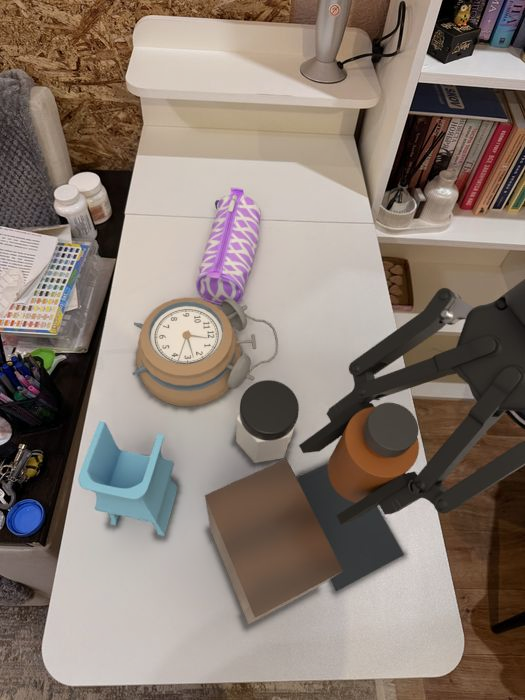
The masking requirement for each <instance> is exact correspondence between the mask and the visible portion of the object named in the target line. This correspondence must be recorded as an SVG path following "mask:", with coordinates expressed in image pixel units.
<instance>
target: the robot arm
mask: <svg viewBox="0 0 525 700" xmlns="http://www.w3.org/2000/svg"><path fill="white" fill-rule="evenodd" d="M461 320H464V323H463V326H462V329H461V332H460V335H459V338H458V340H457V343H456V346H455V347H453V348H450V349H448V350H445V351H442V352H440V353H437V354H435V355H433V356H432V357H430V358H427V359H425V360H422V361H418V362H416V363H413V364H411V365H408V366H405V367H403V368H400V369H397V370H395V371H391V372H389V373H386V374H384V375H380V376H378V377H375V375H377V374H378V373H380V372H381V371H383V370H384V369H386V368H387V367H388V366H389V365H391V364H392V363H394V362H396V361H397V360H399V359H400V358H402V356H405V355H406V354H407V353H410V351H411V350H413V349H414V348H416V347H418V345H419V346H420V344H422V343H424V342H425V341H426V340H427V339H429V338H431V337H432V336H433V335H435V334H436V333H438V332H439V331H441V330H442V329H443V328H444V327H445V326H446V325H449V326H453V325H455V324H457V323H458V322H459V321H461ZM348 373H350V375H352V377H353V382H354V386H353V389H352V391H350V392H349V393H348V394H346V395H345V396H344V397H342V398H341V399H340V400H338V401H337V402H336V403H335V404H333V405H332V406H331V407H330V408H328V410H327V412H326V416H327V417H328V419H329V421H330V422H328V423H327V424H325V425H324V426H323V427H322V428H320V429H319V430H317V431H316V432H314V433H313V434H312V435H311V436H309V437H308V438H306V440H303V442H302V443H300V444H299V445H298V447H299V448H300V450H301V452H302V454H309V453H310V454H311V453H317V452H318V453H319V452H320V451H322V450H324V449H325V448H327V447H329V445H331V444H332V443H334V442H335V441H336V440H338V439H340V438H341V436H342V434H343V432H344V430H345V429H346V427H347V425H348V423H349V421H350V420H351V418H352V417H353V416H354V415H355V414H356V413H358V412H359V411H361V410H363V409H366V408H369V407H375V405H374V404H373V402H372V401H380V400H381V399H382V398H385V397H388V396H391V395H394V394H397V393H400V392H402V391H406V390H409V389H412V388H415V387H419V386H420V385H423V384H427V383H430V382H432V381H436V380H439V379H442V378H444V377H447V376H451V375H455V374H457V376H458V377H459V378H460V379H462V380H463V381H464V382H465V383H467V385H468V387H469V390H470V392H471V394H472V396H473V398H474V399H475V401H476V402H475V403H474V405H473V406H472V408H471V409H470V410H469V412H468V414H467V416H466V417H465V418H464V419H463V421H461V423H460V424H459V425H457V427H456V428H455V430H454V431H453V432H452V434H451V435H450V436H449V437H448V438H447V440H446V441H445V442H444V443H443V444H442V445H441V446H440V448H439V449H438V450H437V451H436V453H435V454H434V455H433V456H432V457H431V459H430V460H429V461H428V462H427V463H426V464H425V465H424V467H423V468H422V469H421V470H420V472H419V473H418V474H417V472H416V471H415V470H414V471H410V472H406V473H405V474H402V475H400V476H398V477H397V478H395V479H394V480H392V481H390V482H389V483H387V484H386V485H384V486H382V487H381V488H379V489H378V490H376V491H375V492H373V493H371V494H370V495H368V496H367V497H365V498H363V499H362V500H360V501H359V502H357V503H355V504H354V505H352V506H351V507H349V508H347V509H346V510H344V511H343V512H341V513H339V514H338V515H336V516H337V518H338V520H339V522H340V523H341V524H344V523H347V522H349V521H352V520H355V519H357V518H359V517H361V516H362V515H364V514H366V513H367V512H369V511H370V510H372V509H374V508H375V507H380V509H381V511H382V512H383V514H384V515H392V514H395V513H398V512H400V511H402V510H403V509H404V508H407V507H408V506H410V505H412V504H413V503H415V502H417V501H418V500H419V499H425V500H426V501H428V502H429V503H431V504H432V505H433V508H434V509H435V511H437V512H438V513H439V514H448V513H450V512H451V511H454V510H455V509H457V508H459V507H461V506H462V505H464V504H466V503H467V502H469V501H470V500H473V499H474V498H475V497H477V496H478V495H480V494H482V493H483V492H485V491H486V490H488V489H489V488H491V487H493V486H494V485H496V484H497V483H499V482H501V481H502V480H504V479H506V478H507V477H509V476H510V475H512V474H514V473H515V472H516V471H518V470H519V469H521V468H523V467H524V466H525V440H523V441H521V442H519V443H518V444H516V445H514V446H512V447H511V448H509V449H508V450H506V451H505V452H503V453H502V454H500V455H498V456H497V457H495V458H494V459H492V460H491V461H489V462H488V463H486V464H484V465H483V466H481V467H480V468H479V469H477V470H476V471H474V472H473V473H471V474H469V475H468V476H467V477H465V478H464V479H462V480H460V481H459V482H457V483H455V484H454V485H453V486H451V487H449V488H448V487H447V486H446V485H444V484H443V483H444V481H445V480H446V479H447V478H448V477H449V476H450V474H452V472H453V471H454V470H455V469H456V468H457V466H458V465H459V464H460V463H461V462H462V461H463V460H464V459H465V457H466V456H467V455H468V454H469V453H470V451H471V450H472V449H473V448H474V447H475V445H476V444H478V442H479V441H480V440H481V439H482V437H483V436H484V435H485V434H486V433H487V432H488V431H489V429H490V428H491V427H492V426H494V425H495V424H496V423H497V422H498V421H499V420H500V418H501V417H502V416H503V415H504V414H505V413H506V412H508V411H509V412H525V278H524V279H523V280H521V281H520V282H519V283H517V284H516V285H515V286H513V287H511V288H510V289H509V290H508V291H507V292H505V293H503V294H502V295H500V297H499V298H497V299H496V300H494V301H492V302H490V303H489V302H488V303H486V304H480V305H477V306H475V307H474V306H472V305H471V304H470V303H468V302H466V301H464V300H463V299H462V297H461V296H460V294H457V293H456V292H454V291H453V290H451V289H450V288H447V287H442V288H439V289H438V290H437V291H436V292H435V294H434V295H433V297H432V298H431V299H430V301H429V302H428V304H427V305H426V306H425V308H424V309H423V310H422V311H421V312H420V313H418V314H417V315H416V316H414V317H412V318H411V319H410V320H408V321H407V322H406V323H404V324H403V325H401V326H400V327H399V328H397V329H396V330H394V331H393V332H392V333H390V334H389V335H387V336H386V337H385V338H383V339H382V340H380V341H379V342H377V343H376V344H375V345H374V346H372V347H370V348H369V349H368V350H367V351H365V352H364V353H362V354H361V355H359V356H358V357H357V358H356V359H354V360H352V361H351V362H350V363H349V365H348Z"/></svg>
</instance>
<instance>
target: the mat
mask: <svg viewBox="0 0 525 700" xmlns="http://www.w3.org/2000/svg"><path fill="white" fill-rule="evenodd" d="M296 478H297V480H298V482H299V484H300V486H301V488H302V490H303V492H304V494H305V496H306V498H307V500H308V502H309V504H310V506H311V508H312V510H313V512H314V514H315V516H316V518H317V520H318V522H319V524H320V526H321V528H322V530H323V532H324V534H325V536H326V538H327V540H328V542H329V544H330V546H331V548H332V550H333V552H334V554H335V556H336V558H337V560H338V562H339V564H340V566H341V568H342V570H343V571H342V572H341V573H339V574H338V575H336V576H335V577H333V578H331V579H330V582H331V584H332V586H333V587H334V590H335V591H336V592H338V591H340V590H342V589H344V588H345V587H347V586H349V585H351V584H353V583H355V582H357V581H359V580H360V579H362V578H364V577H366V576H368V575H370V574H371V573H373V572H375V571H377V570H378V569H379V570H380V569H381V568H382V567H384V566H386V565H388V564H390V563H392V562H394V561H395V560H397V559H399V558H401V557H403V556H404V555H405V554H404V552H403V550H402V548H401V547H400V545H399V543H398V540H397V539H396V537H395V535H394V534H393V532H392V530H391V528H390V527H389V525H388V523H387V522H386V520H385V518H384V516H383V514H382V513H381V511H380V509H379V506H377V507H375V508H374V509H372V510H370V511H369V512H367V513H366V514H364V515H362V516H361V517H359V518H357V519H355V520H352V521H349V522H347V523H344V524H341V523H340V522H339V520H338V518H337V516H336V515H338V514H339V513H341V512H343V511H344V510H346V509H347V508H349V507H351V506H352V505H354V504H355V502H351V501H349V500H347V499H345V498H343V497H342V496H341V495H340V494H339V493H338V492H337V491H336V490H335V489H334V487H333V486H332V484H331V482H330V479H329V476H328V463H326V464H325V465H322V466H320V467H318V468H315V469H314V470H311V471H309V472H307V473H304V474H303V475H301V476H299V477H296Z"/></svg>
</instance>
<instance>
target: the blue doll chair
mask: <svg viewBox="0 0 525 700" xmlns="http://www.w3.org/2000/svg"><path fill="white" fill-rule="evenodd" d="M164 439H165V434H162V433H157V434H156V437H155V439H154V444H153V447H152V449H151V453H150V455H146V454H145V455H144V454H140V453H136V452H131V451H127V450H124V449H123V450H122V449H121V448H119V447H118V445H117V443H116V441H115V439H114V437H113V435H112V433H111V430H110V428H109V427H108V425H107V423H106V422H105V421H100V420H99V421H98V423H97V425H96V428H95V431H94V433H93V435H92V438H91V441H90V444H89V446H88V449H87V452H86V454H85V457H84V460H83V462H82V464H81V467H80V470H79V474H78V477H77V482H78V485H79V486H80V487H81V488H82V489H84V490H86V491H90V492H93V493H95V496H96V500H95V504H94V510H95V511H96V512H101V513H106V514H107V515H109V517H110V525H111V526H117V523H118V520H119V517H120V516H121V517H126V518H131V519H136V520H139V521H144V522H149V523H151V524H152V525H153V527H154V529H155V531H156V533H157V535H158V536H161V537H165V535H166V531H167V528H168V525H169V521H170V517H171V514H172V510H173V507H174V502H175V500H176V495H177V491H178V486H177V484H176V482H175V481H174V480H172V473H173V469H174V465H175V462H174V460H171V459H170V460H169V459H167V458H165V457H164V456H163V455H162V446H163V442H164Z"/></svg>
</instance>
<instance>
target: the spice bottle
mask: <svg viewBox="0 0 525 700" xmlns="http://www.w3.org/2000/svg"><path fill="white" fill-rule="evenodd" d="M418 437H419V425H418V421H417V419H416V416H414V414H413V413H412V412H411V411H410V410H409V409H408V408H406V407H405V406H404V405H402V404H399V403H395V402H384V403H380V404H378V405H376V406H374V407H369V408H366V409H363V410H361V411H359V412H358V413H356V414H355V415H354V416H353V417H352V418H351V420H350V421H349V423H348V425H347V427H346V429H345V430H344V432H343V434H342V436H340V437H339V440H338V441H337V443H336V445H335V447H334V449H333V451H332V453H331V455H330V457H329V459H328V462H327V464H328V476H329V479H330V482H331V484H332V486H333V487H334V489H335V490H336V491H337V492H338V493H339V494H340V495H341V496H342V497H343V498H345V499H347V500H349V501H351V502H355V503H357V502H359V501H360V500H362V499H363V498H365V497H367V496H368V495H370V494H371V493H373V492H375V491H376V490H378V489H379V488H381V487H382V486H384V485H386V484H387V483H389V482H390V481H392V480H394V479H395V478H397V477H398V476H400V475H402V474H406V473H408V471H409V470H411V468H412V467H413V466H414V465H415V463H416V462H417V459H418V456H419V451H420V443H419V442H420V441H419V438H418Z"/></svg>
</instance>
